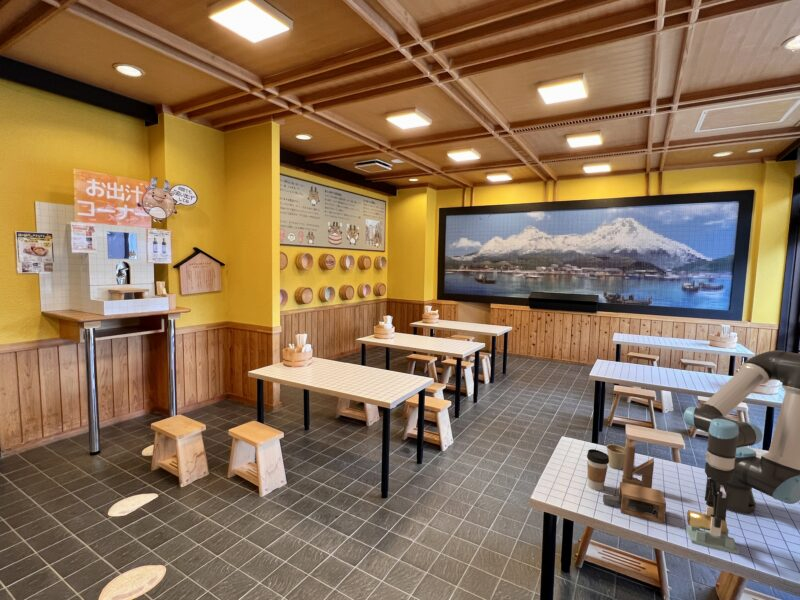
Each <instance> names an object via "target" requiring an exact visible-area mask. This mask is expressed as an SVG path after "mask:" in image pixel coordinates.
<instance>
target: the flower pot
mask: <svg viewBox="0 0 800 600" xmlns="http://www.w3.org/2000/svg"><path fill="white" fill-rule="evenodd" d="M605 447H606V452H607V455H608V456H609V463H608V464H607V465H608V466H609V467H610V468H612V469H614V470H617V469H618V470H624V459H625V448H626V447H624V446H621V445H618V444H607V445H606V446H605Z"/></svg>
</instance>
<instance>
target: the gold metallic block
mask: <svg viewBox="0 0 800 600" xmlns="http://www.w3.org/2000/svg"><path fill="white" fill-rule="evenodd" d="M686 512H687V515H686V520H687V525H688V527H691V526H692V527H696V528H700V530H704V531H708V532H710V528H711V518H712V517H711V515H708V514H706V513H704V512H698V511H694V510H690V509H688V510H687V511H686ZM726 520H727V519H726ZM726 520H725V521H724V520H722V527H721V534H726V532H727V528H728V525H727V521H726Z"/></svg>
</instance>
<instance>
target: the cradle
mask: <svg viewBox="0 0 800 600" xmlns="http://www.w3.org/2000/svg"><path fill="white" fill-rule="evenodd" d="M685 531H686V533H687V535H688V537H689V540H690V542H691V544H696V545H698V546H699V545H700V546H703V547H707V548H711V549H714V550H719V551H723V552H727V553H730V552H731V554H735V555H740V551H739V549H738V548H737V546H736V544H735V543H736V542H735V541H736V540H735V538H733V537H732V536H729V531H730V530H729V529H728V527H727V532H726V534H721V535H720V536H716V535H711V534H710V531H709V530H704V529H700V528H696V527H692V526H685Z"/></svg>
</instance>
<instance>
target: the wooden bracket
mask: <svg viewBox="0 0 800 600" xmlns="http://www.w3.org/2000/svg"><path fill="white" fill-rule="evenodd" d="M624 448H625V459H624V467H623V469H622V470H623V473H622V476H621V482H623V483H628V484H633V485H637V486H642V487H647V488H651V489H653V478H654V477H653V476H654V468H655V467H654V465H655V458H654V457H653V458H650V459H649V460H646V461H645V462H643V463H641V464H639V465H638V466H636V467H634V466H635V465H634V464H635V454H636V445H633V444H631V443H626V444H625V447H624ZM634 474H638V475H641V480H640V479H638V478H637V477H633V475H634Z"/></svg>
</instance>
